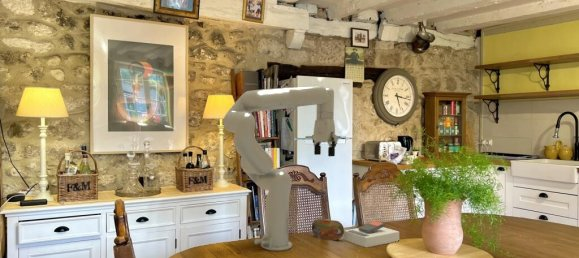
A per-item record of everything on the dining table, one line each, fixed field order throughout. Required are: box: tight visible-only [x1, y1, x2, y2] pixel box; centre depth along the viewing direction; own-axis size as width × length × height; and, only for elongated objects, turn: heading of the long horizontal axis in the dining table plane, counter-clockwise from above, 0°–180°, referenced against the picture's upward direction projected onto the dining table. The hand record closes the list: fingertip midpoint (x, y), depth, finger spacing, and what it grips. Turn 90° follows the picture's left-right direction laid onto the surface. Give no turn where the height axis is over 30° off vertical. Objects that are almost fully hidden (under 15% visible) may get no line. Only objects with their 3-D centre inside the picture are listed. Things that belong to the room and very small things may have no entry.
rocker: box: [358, 220, 386, 233], centre depth 188 cm, size 10×6×1 cm, turn 124°
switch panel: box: [343, 226, 400, 248], centre depth 188 cm, size 20×14×5 cm
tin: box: [311, 218, 345, 241], centre depth 190 cm, size 15×3×8 cm, turn 57°
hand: (324, 155), depth 188 cm, fingers open, 9 cm apart
